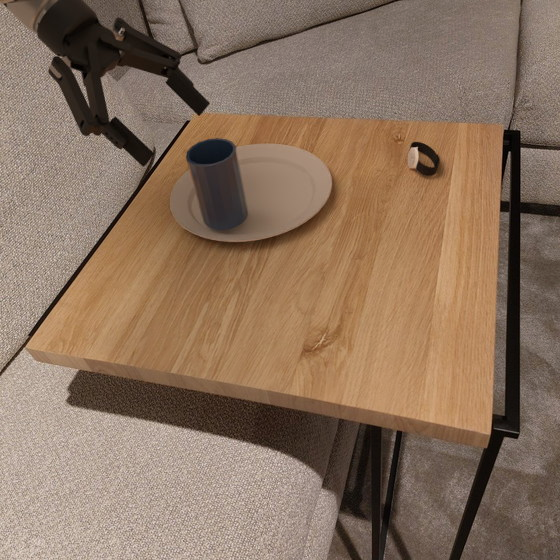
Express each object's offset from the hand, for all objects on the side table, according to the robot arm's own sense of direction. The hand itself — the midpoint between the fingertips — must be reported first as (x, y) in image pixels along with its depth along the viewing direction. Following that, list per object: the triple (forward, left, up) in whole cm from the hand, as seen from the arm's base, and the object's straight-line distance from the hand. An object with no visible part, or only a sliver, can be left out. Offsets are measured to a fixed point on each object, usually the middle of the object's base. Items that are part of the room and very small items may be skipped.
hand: (178, 134), depth 80 cm
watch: (+29, +21, -15) cm, 39 cm away
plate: (+5, +7, -15) cm, 18 cm away
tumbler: (+5, 0, -13) cm, 14 cm away
